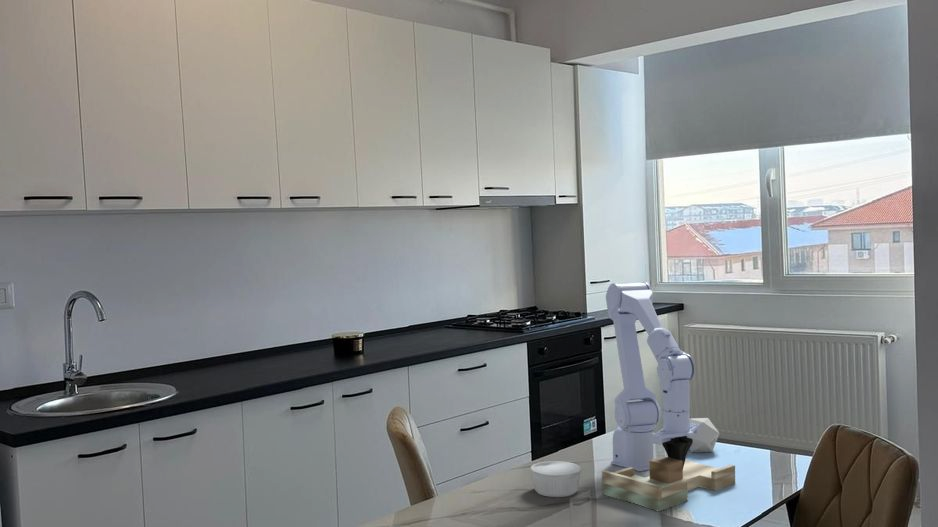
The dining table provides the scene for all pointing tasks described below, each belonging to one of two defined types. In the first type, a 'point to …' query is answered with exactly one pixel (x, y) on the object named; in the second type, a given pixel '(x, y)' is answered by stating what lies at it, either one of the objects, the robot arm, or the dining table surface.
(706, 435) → the die
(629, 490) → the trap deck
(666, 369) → the robot arm
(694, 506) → the dining table surface
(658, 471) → the walnut block
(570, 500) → the dining table surface
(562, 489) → the ramekin
